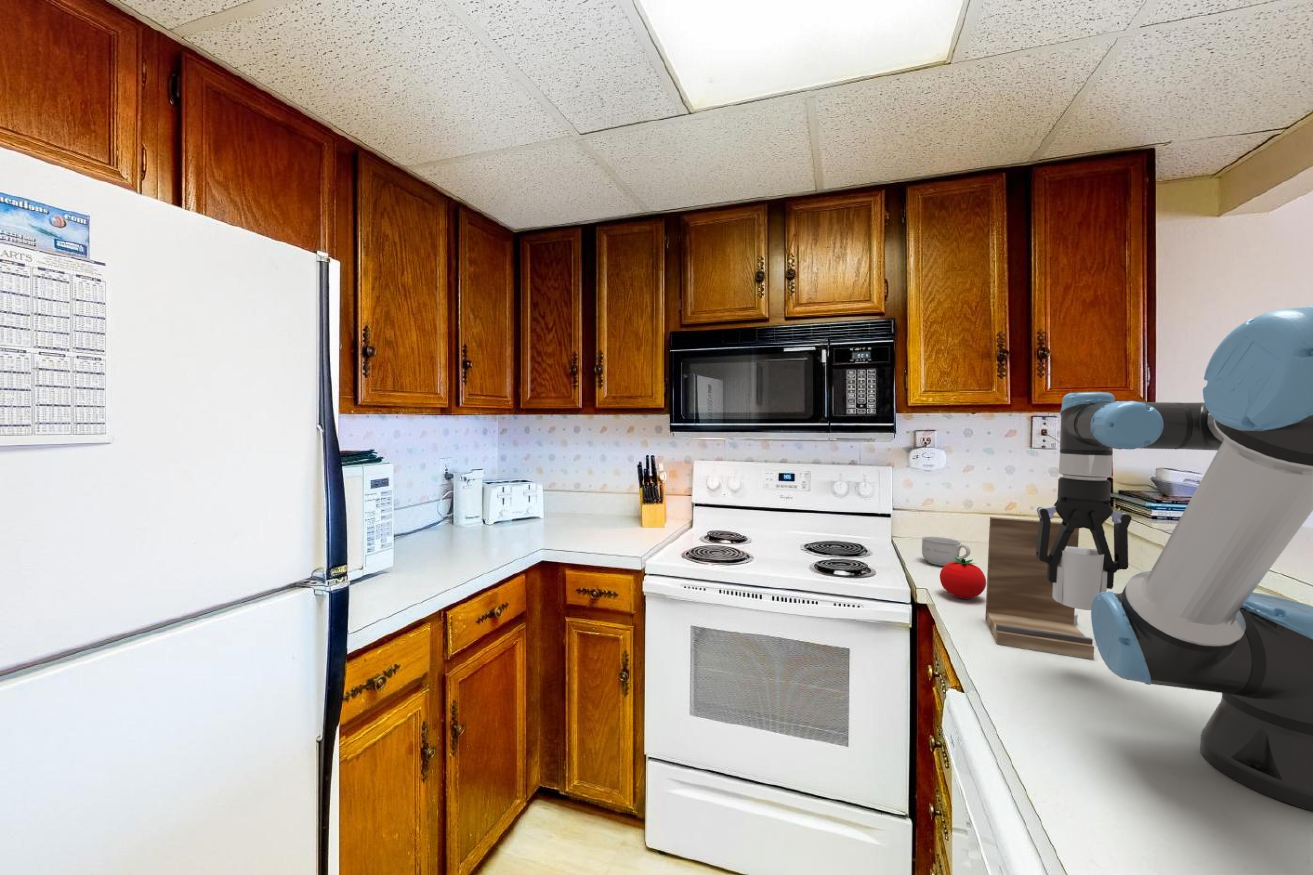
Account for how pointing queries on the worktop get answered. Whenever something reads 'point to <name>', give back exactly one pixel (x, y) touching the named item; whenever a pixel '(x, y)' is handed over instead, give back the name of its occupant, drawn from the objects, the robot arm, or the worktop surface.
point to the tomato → (962, 579)
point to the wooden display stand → (1028, 592)
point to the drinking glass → (1080, 576)
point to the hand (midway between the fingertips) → (1078, 602)
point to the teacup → (942, 550)
